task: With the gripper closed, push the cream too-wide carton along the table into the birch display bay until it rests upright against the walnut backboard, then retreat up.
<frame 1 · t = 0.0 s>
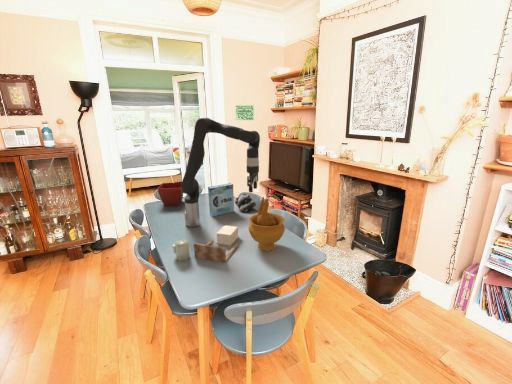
hand: (253, 190, 161), 29 cm above the table, fingers open, 8 cm apart
display bay: (217, 251, 147), on the table
cream carton: (227, 240, 160), on the table
gum box: (222, 213, 204), on the table
mortar and pestle: (266, 246, 153), on the table
sage mug: (183, 257, 141), on the table
dark grey rounded lump: (245, 210, 211), on the table
plant pot: (173, 203, 226), on the table
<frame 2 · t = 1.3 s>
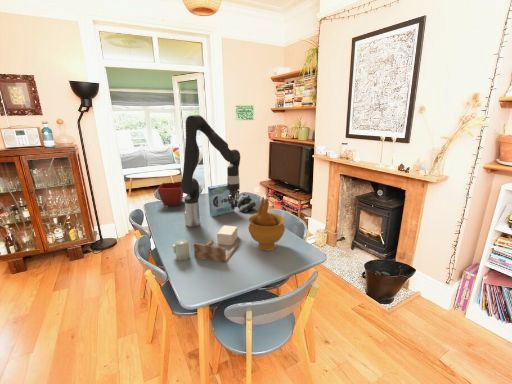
hand: (234, 207, 166), 17 cm above the table, fingers open, 3 cm apart
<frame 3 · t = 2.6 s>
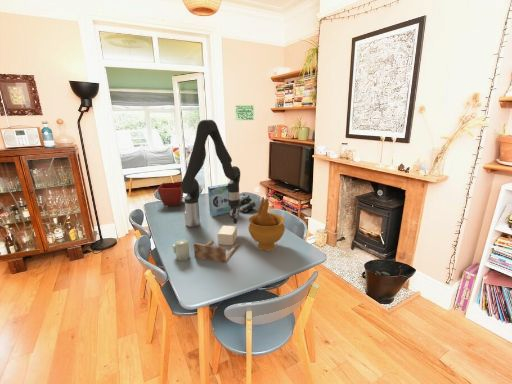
hand: (235, 223, 169), 7 cm above the table, fingers closed
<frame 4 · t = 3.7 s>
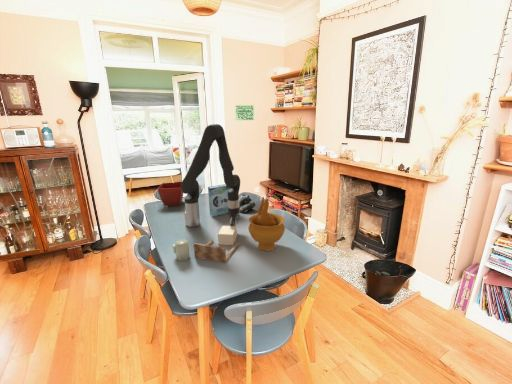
hand: (234, 230, 169), 2 cm above the table, fingers closed
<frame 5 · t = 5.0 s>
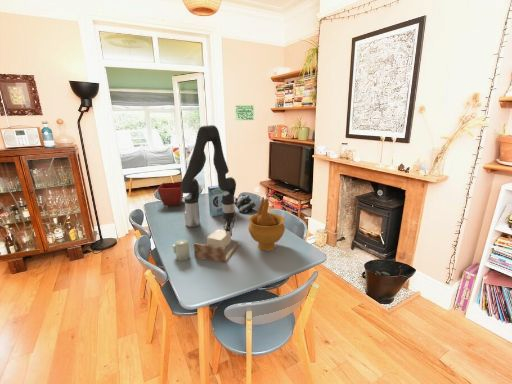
hand: (229, 236, 161), 2 cm above the table, fingers closed
cream carton: (219, 245, 154), on the table, touching hand
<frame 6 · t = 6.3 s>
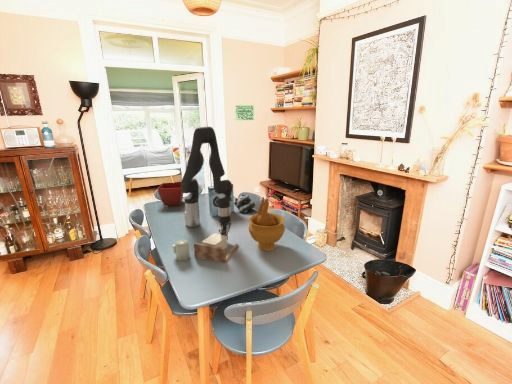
hand: (225, 240, 157), 2 cm above the table, fingers closed
cream carton: (215, 249, 149), on the table
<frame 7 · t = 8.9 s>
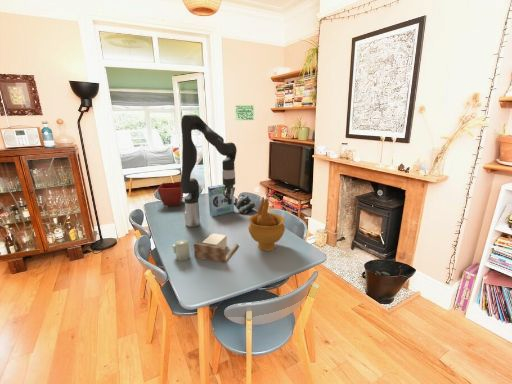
hand: (229, 204, 159), 22 cm above the table, fingers closed
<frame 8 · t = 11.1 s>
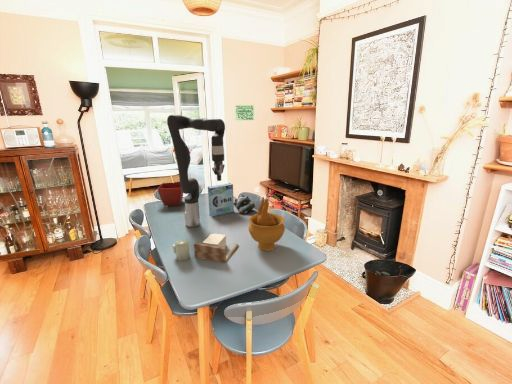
hand: (219, 180, 162), 35 cm above the table, fingers closed
at the end: cream carton inside the target area on the display bay (3.6 cm from its centre), point 0.0 cm above the display bay's base; cream carton tilted 0°; cream carton moved 13.1 cm from its start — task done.
